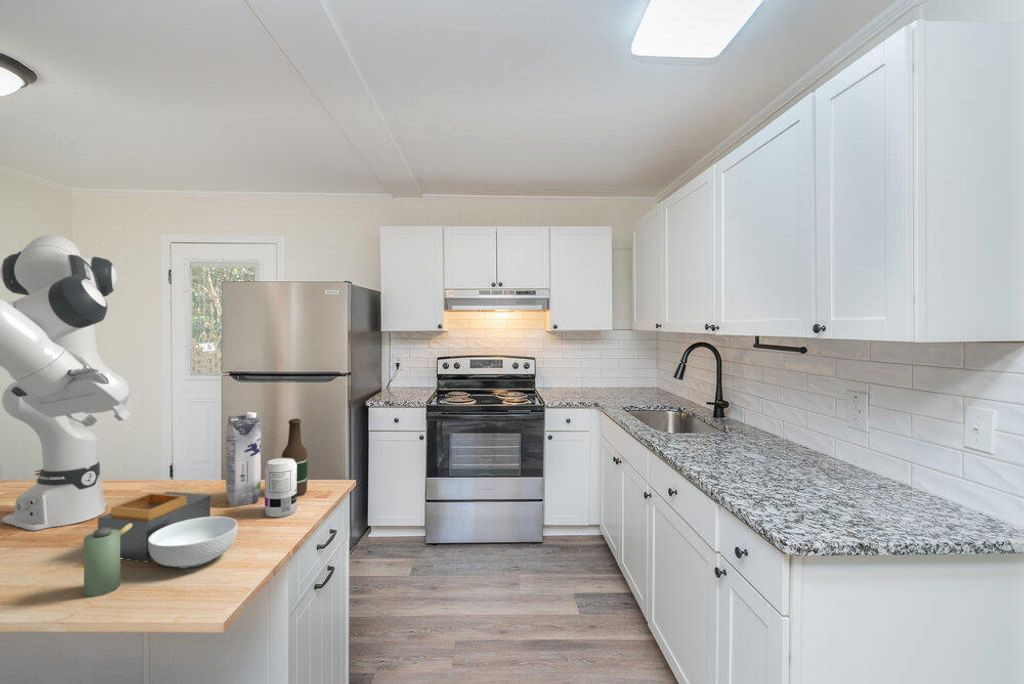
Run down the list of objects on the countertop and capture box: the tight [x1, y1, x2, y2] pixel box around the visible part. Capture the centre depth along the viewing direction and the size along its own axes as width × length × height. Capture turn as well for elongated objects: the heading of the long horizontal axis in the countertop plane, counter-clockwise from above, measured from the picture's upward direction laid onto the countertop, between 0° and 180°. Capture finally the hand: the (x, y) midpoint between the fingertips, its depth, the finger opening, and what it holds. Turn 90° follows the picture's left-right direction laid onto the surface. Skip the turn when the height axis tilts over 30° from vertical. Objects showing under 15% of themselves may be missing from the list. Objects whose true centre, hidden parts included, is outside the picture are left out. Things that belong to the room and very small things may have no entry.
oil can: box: [83, 523, 133, 598], centre depth 96 cm, size 8×6×12 cm
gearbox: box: [97, 491, 211, 562], centre depth 117 cm, size 16×18×11 cm
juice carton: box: [225, 411, 262, 508], centre depth 145 cm, size 9×10×27 cm
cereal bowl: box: [148, 516, 239, 569], centre depth 108 cm, size 17×17×7 cm
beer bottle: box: [280, 418, 308, 497], centre depth 152 cm, size 8×8×24 cm
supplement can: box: [264, 457, 298, 518], centre depth 136 cm, size 8×8×15 cm
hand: (108, 421), depth 100 cm, fingers open, 8 cm apart
